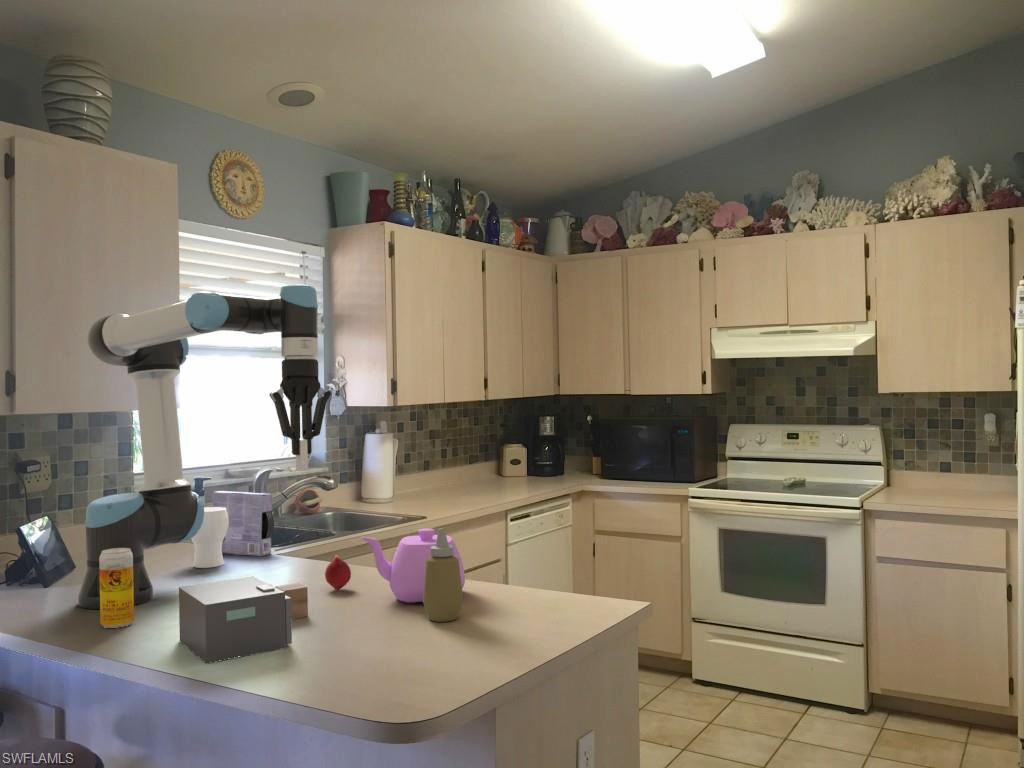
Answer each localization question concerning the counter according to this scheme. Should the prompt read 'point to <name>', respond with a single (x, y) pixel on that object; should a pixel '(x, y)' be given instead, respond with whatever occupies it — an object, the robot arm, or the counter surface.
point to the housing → (232, 618)
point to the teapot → (410, 564)
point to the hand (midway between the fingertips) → (302, 470)
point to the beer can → (116, 587)
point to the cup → (210, 538)
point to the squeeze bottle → (442, 582)
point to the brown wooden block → (296, 598)
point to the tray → (288, 620)
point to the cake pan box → (246, 522)
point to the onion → (337, 573)
